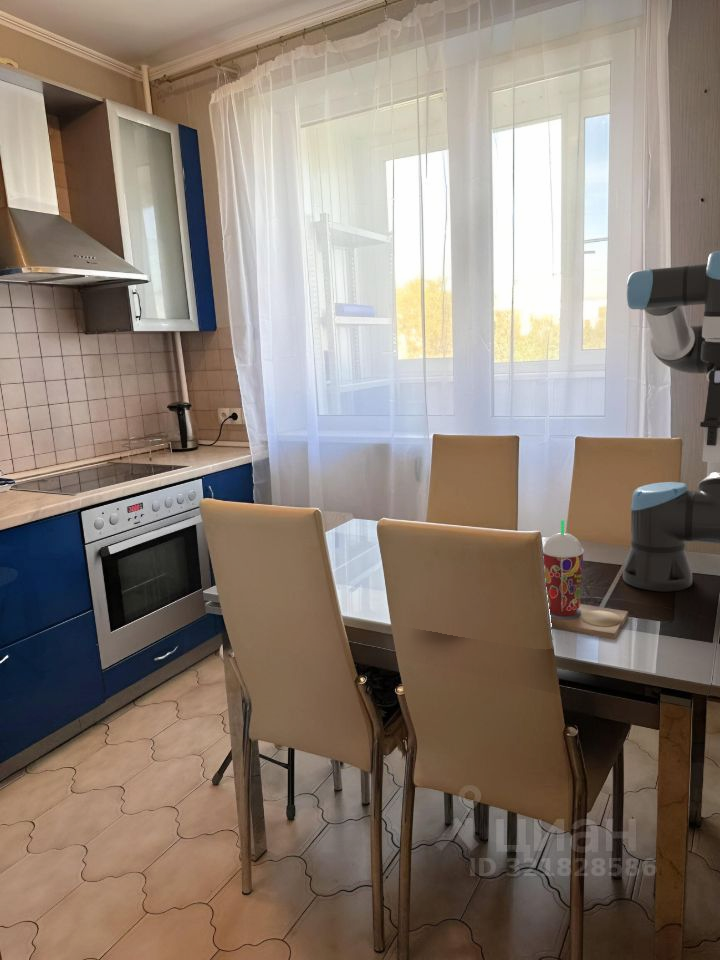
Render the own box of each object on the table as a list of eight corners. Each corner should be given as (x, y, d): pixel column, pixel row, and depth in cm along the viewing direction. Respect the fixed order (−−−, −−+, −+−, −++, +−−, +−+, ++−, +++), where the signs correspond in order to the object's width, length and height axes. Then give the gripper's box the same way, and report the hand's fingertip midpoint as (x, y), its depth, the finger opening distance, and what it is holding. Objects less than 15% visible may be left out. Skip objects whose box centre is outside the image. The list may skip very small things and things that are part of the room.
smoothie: (586, 619, 137) (587, 525, 133) (544, 619, 138) (543, 526, 134) (579, 603, 145) (580, 514, 141) (540, 603, 146) (539, 515, 142)
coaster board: (552, 604, 149) (552, 598, 149) (627, 616, 140) (628, 610, 140) (534, 625, 139) (534, 618, 139) (614, 639, 130) (614, 632, 130)
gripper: (741, 347, 109) (730, 471, 115) (755, 331, 128) (745, 439, 135) (690, 347, 113) (682, 467, 119) (711, 332, 133) (704, 436, 139)
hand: (715, 452), depth 127 cm, fingers open, 13 cm apart
